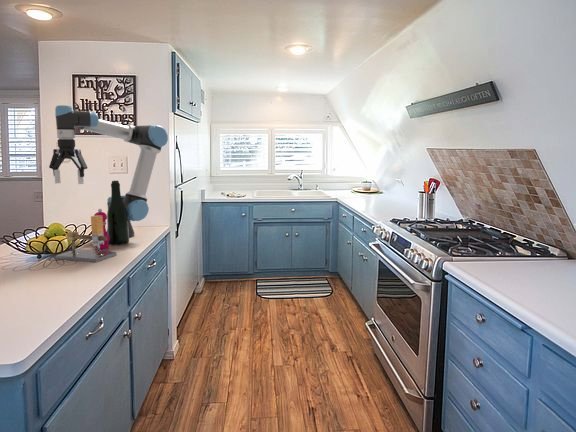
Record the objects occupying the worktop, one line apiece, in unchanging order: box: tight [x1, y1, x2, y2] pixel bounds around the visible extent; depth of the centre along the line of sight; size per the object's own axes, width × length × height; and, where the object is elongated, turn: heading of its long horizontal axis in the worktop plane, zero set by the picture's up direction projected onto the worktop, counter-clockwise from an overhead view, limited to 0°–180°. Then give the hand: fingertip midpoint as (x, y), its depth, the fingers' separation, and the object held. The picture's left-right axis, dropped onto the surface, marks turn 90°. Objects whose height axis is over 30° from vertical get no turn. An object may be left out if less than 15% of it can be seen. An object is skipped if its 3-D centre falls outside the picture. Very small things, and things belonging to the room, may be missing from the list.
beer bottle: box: [106, 180, 130, 246], centre depth 240 cm, size 10×10×33 cm
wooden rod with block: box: [66, 231, 107, 253], centre depth 212 cm, size 4×20×9 cm, turn 73°
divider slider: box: [90, 215, 104, 253], centre depth 209 cm, size 4×3×17 cm
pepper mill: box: [93, 208, 110, 251], centre depth 229 cm, size 7×7×20 cm
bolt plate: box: [55, 248, 117, 263], centre depth 213 cm, size 14×22×2 cm, turn 73°
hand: (69, 183), depth 222 cm, fingers open, 13 cm apart
